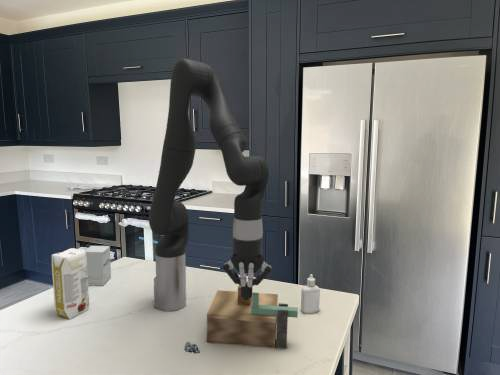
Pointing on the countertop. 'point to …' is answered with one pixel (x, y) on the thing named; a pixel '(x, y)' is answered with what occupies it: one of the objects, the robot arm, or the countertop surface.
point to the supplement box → (98, 265)
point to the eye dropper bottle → (310, 296)
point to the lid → (240, 306)
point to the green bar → (270, 308)
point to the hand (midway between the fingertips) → (246, 298)
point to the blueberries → (191, 348)
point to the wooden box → (249, 331)
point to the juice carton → (70, 282)
